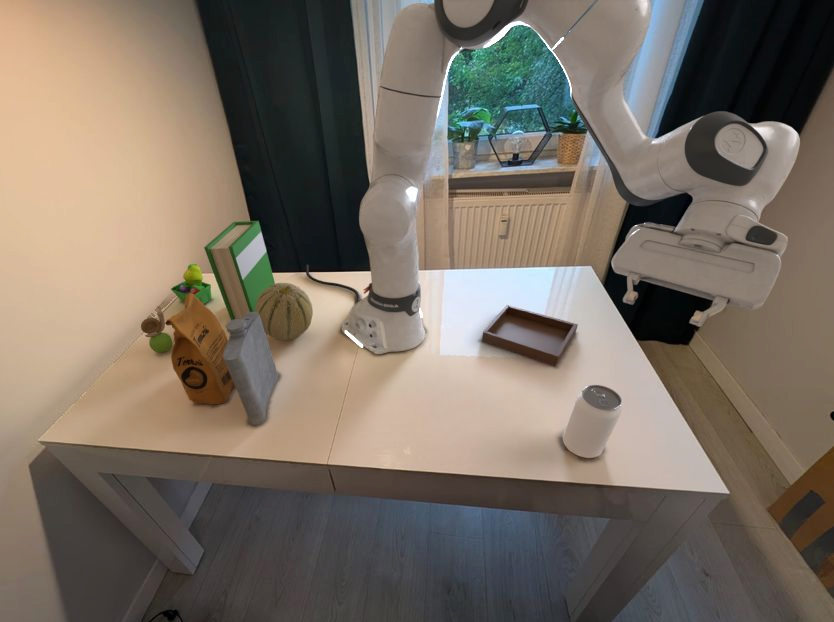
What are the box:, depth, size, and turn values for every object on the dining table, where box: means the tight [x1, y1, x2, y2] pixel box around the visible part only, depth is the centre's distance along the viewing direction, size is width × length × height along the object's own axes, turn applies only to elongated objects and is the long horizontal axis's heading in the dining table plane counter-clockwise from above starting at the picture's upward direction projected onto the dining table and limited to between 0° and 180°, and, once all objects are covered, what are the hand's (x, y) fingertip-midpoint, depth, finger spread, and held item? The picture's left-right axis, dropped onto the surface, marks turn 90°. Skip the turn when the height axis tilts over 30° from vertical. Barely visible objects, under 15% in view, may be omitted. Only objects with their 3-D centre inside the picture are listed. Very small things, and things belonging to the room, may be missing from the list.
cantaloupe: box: [255, 282, 314, 341], centre depth 98 cm, size 15×15×15 cm
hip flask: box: [223, 312, 280, 426], centre depth 78 cm, size 16×4×20 cm, turn 178°
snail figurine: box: [140, 305, 174, 354], centre depth 98 cm, size 5×6×12 cm
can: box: [562, 384, 623, 459], centre depth 64 cm, size 6×6×12 cm
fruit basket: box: [170, 263, 212, 305], centre depth 119 cm, size 11×9×11 cm
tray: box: [481, 304, 579, 367], centre depth 92 cm, size 18×15×3 cm
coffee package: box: [165, 293, 236, 405], centre depth 81 cm, size 10×12×22 cm
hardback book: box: [203, 220, 276, 321], centre depth 106 cm, size 18×7×24 cm, turn 172°
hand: (659, 312), depth 60 cm, fingers open, 8 cm apart
